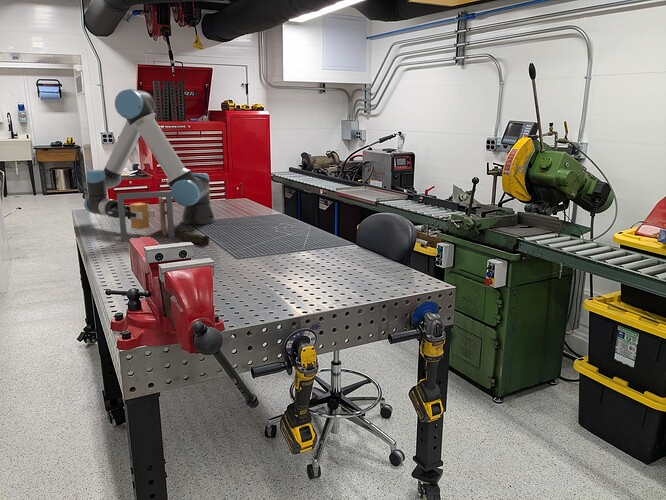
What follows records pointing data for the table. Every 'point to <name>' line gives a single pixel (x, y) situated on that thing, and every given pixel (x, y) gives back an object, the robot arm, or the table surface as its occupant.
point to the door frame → (145, 195)
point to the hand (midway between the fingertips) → (147, 215)
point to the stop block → (145, 221)
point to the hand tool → (191, 237)
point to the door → (162, 215)
